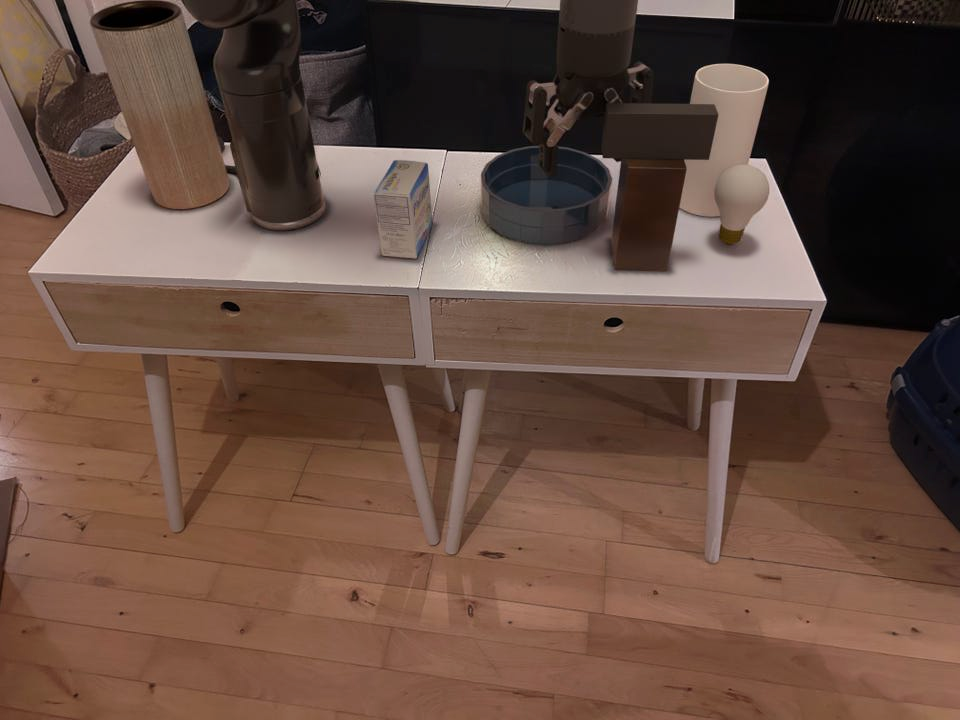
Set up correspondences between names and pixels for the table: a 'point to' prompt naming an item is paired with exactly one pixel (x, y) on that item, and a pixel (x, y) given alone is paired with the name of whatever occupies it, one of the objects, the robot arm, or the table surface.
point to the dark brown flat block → (658, 131)
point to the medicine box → (403, 208)
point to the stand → (646, 213)
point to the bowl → (545, 196)
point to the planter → (162, 101)
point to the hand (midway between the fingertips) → (582, 165)
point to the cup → (723, 129)
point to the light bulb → (739, 200)
